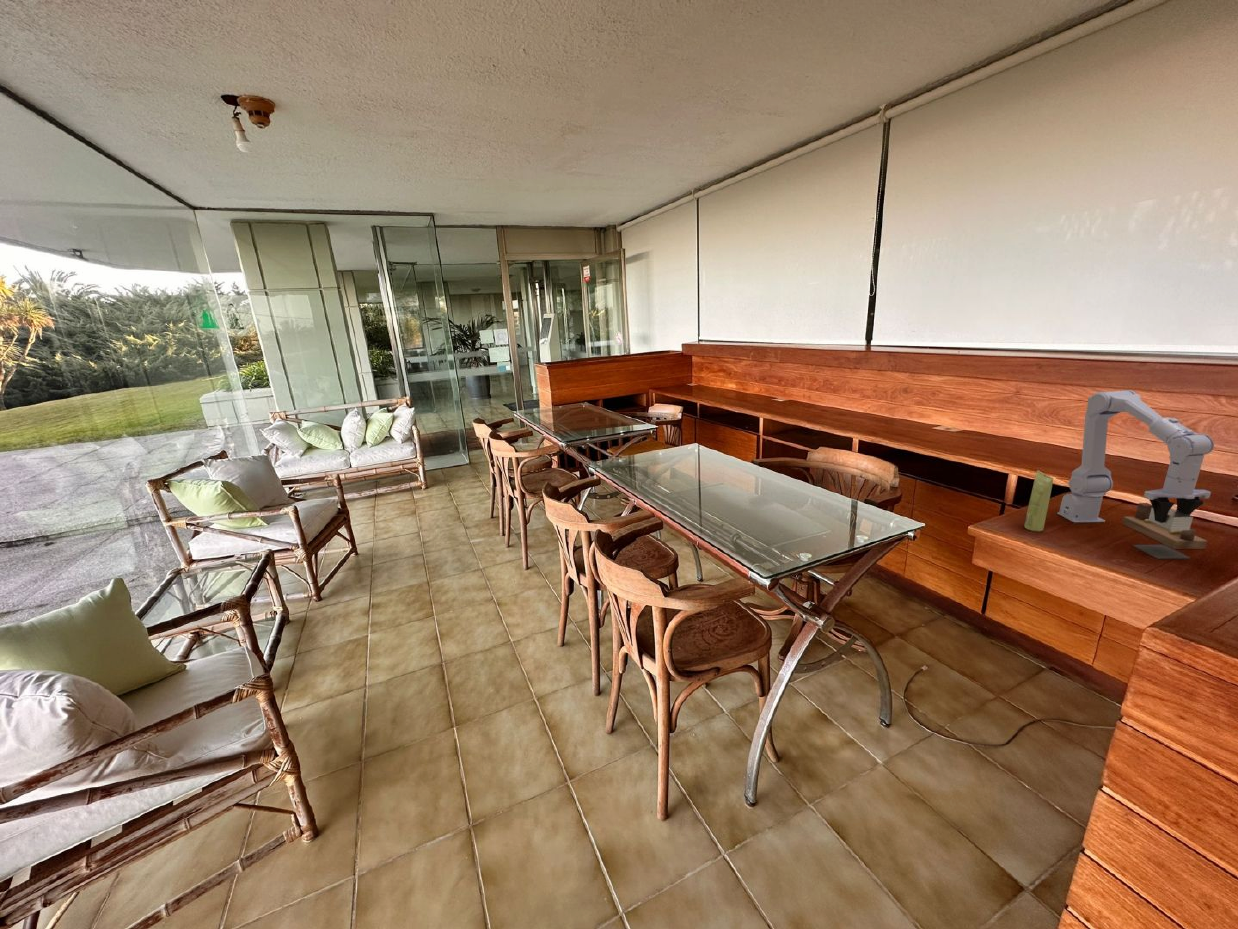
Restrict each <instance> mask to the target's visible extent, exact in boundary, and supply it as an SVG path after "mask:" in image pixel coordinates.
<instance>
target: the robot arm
mask: <svg viewBox="0 0 1238 929" xmlns="http://www.w3.org/2000/svg"><path fill="white" fill-rule="evenodd" d="M1086 405H1087V406H1086V411H1085V414H1084V427H1083V428H1084V429H1083V441H1082V453H1081V454H1082V455H1081V465H1080V466H1079V467H1076V468H1075V469H1073V471H1072V472H1071V477H1070V479H1069V480H1068V486H1069V487H1068V488H1069V489H1070V491H1071V493H1067V494H1063V497H1062V498H1061V504H1060V507H1059V511H1058V512H1057V514H1058V515H1059V516H1061V517H1063V518H1064V519H1066V520H1069V521H1070V522H1073V523H1105V522H1106V520H1105V519H1103V518H1101V517H1099V516H1100V511H1101V506H1102V502H1103V499H1104V498H1103V497H1104V496H1106V494H1107V493H1108V492H1110V491H1111V490H1113V487H1114V481H1113V479H1112V471H1111V470H1110V469H1108V468H1107V467H1106V466H1105V462H1106V458H1105V457H1106V450H1107V438H1108V437H1107V436H1108V425H1109V420H1110V419H1112V418H1113V417H1114V416H1116V415H1118V414H1119V413H1120V414H1121V413H1127V414H1129V415H1131V416H1133V417H1134V418H1136V419H1138V420H1139V421H1141V422H1142V423H1144V424H1145V425H1147V426H1149V428H1148V430H1149V433H1151V434H1152V435H1153V436H1154V437H1156V438H1158V439H1159V440H1160V441H1162V442H1163V443H1165V444H1166V445H1167V450H1168V452H1169V457H1168V459H1169V460H1170V462H1169V465H1168V469H1167V471H1166V476H1165V480H1164V483H1163V487H1162V488H1159V489H1153V490H1146V491H1144V494H1143V498H1145V499H1147V500H1149V502H1150V504H1151V505H1152V507H1153V510H1154V517H1155V521H1158V522H1160V523H1164V522H1165V520H1166V517H1167V514H1168V512H1169V510H1170V509H1171V508H1173V506H1174V505H1175V503H1174V502H1172V501H1170V499H1175V500H1176V509H1175V510H1177V511H1180V512H1182V513H1185V514H1187V515H1189V516H1191V515H1192V513H1193V512H1194V511H1195V510H1197V509H1198V508H1199V507H1202V506H1203V504H1204V500H1203V499H1210V497H1211V494H1212V492H1211V491H1209V490H1206V489H1195V488H1196V485H1197V482H1198V479H1199V475H1200V472H1201V468H1202V464H1203V462H1204V458H1205V455H1208V454H1210V453H1211V452H1212V451H1213V450H1214V448H1215V443H1214V440H1213V439H1212V438H1211V437H1210V436H1209V435H1208V434H1206V433H1197V432H1195V431H1194V430H1193V429H1189V428H1188V427H1187V426H1185V425H1183V424H1182V423H1180V422H1179V421H1180V420H1179V419H1177V418H1176V417H1175V418H1174V417H1170V416H1169V417H1163V416H1161V415H1160V414H1159V413H1158V412H1156V410H1154V409H1153V408H1151V406H1149V405H1148V404H1147V403H1145V402H1144V401H1143V400H1142V397H1141V395H1140V394H1139V393H1138V394H1137V393H1136V392H1135V391H1133V390H1132V389H1125V390H1117V391H1116V390H1115V391H1098V392H1095V393H1093V394H1092V395H1091V396H1089V397H1088V398H1087V404H1086ZM1200 498H1201V499H1200ZM1202 498H1203V499H1202Z"/></svg>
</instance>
